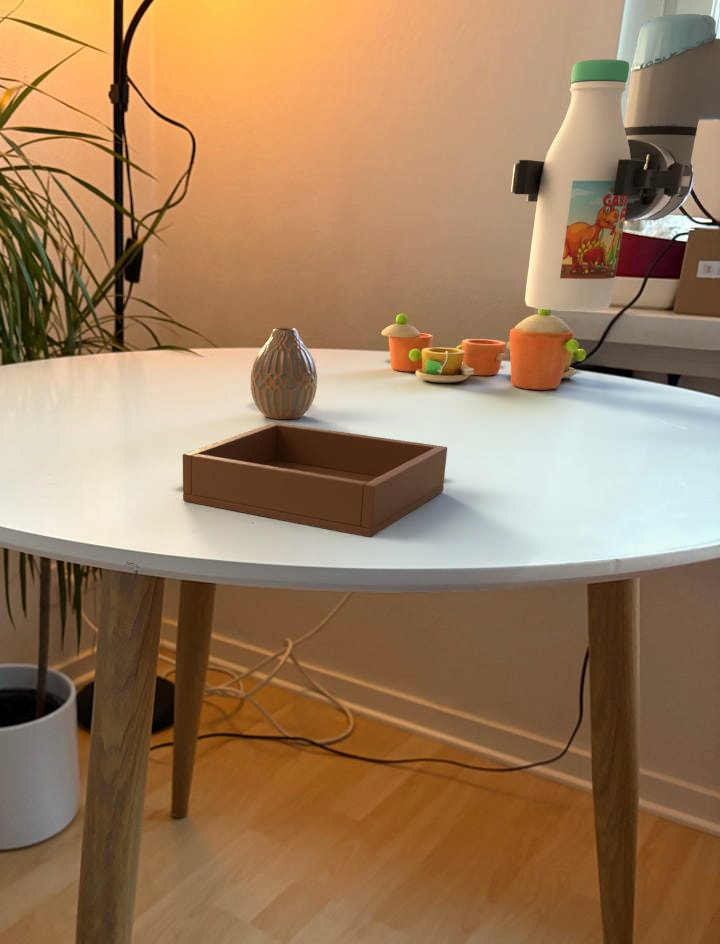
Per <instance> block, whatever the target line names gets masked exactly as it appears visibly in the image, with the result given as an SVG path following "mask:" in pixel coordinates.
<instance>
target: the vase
mask: <svg viewBox="0 0 720 944" xmlns="http://www.w3.org/2000/svg"><path fill="white" fill-rule="evenodd" d="M317 388H318V371H317V367H316V362H315V360H314V358H313V355H312V353H311V352H310V351H309V349H308V347H307V346H306V345H305V343H304V342H303V340H302V338H301V336H300V333H299V331H298V329H297V328H295V327H275V328H274V329H272V332H271V335H270V337H269V338H268V340H267V341H266V343H265V344H264V345H263V347H262V348H260V350H259V352H258V353H257V355H256V357H255V359H254V362H253V364H252V368H251V372H250V391H251V392H250V393H251V397H252V399H253V402H254V405H255V406H256V408H257V409H258V411H259V412H260V413H261V414H262V415H263V416H264V417H266V418H269V419H275V420H295V419H299V418H301V417H303V416H304V415H305V414H306V413H307V411H308V410H310V408H311V407H312V404H313V402H314V400H315V397H316V394H317Z"/></svg>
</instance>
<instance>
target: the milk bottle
mask: <svg viewBox="0 0 720 944" xmlns="http://www.w3.org/2000/svg"><path fill="white" fill-rule="evenodd" d="M629 72H630V63H629V62H628V61H627V60H623V59H588V60H581V61H577V62H575V63H574V64H573V66H572V71H571V77H570V83H571V85H570V89H569V91H570V92H571V99H570V104H569V107H568V109H567V113H566V115H565V117H564V120H563V122H562V124H561V126H560V128H559V130H558V132H557V134H556V136H555V138H554V139H553V142H552V144H550V146H549V149H548V151H547V154H546V156H545V160H544V162H545V163H544V166H543V170H542V175H541V181H540V187H539V193H538V200H537V202H536V209H535V216H534V223H533V231H532V240H531V246H530V255H529V263H528V269H527V270H528V271H527V277H526V285H525V286H526V287H525V297H524V301H525V304H526V307H530V308H533V309H538V310H539V309H546V310H551V311H560V312H597V311H598V312H599V311H603V310H608V308H609V307H610V306H611V303H612V298H613V293H614V287H615V280H616V274H617V269H618V264H619V263H618V262H619V256H620V250H621V244H622V237H623V231H624V226H625V221H624V218H625V212H626V205H627V198H628V196H618V195H613V193H614V187H615V180H616V174H617V167H618V161H619V160H626V159H628V160H631V156H630V149H629V144H628V140H627V137H626V133H625V129H624V120H623V119H624V118H623V111H622V110H623V109H622V98H623V93H624V92H625V91H626V90H627V88H626V86H627V82H628V78H629Z"/></svg>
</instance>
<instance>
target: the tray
mask: <svg viewBox="0 0 720 944" xmlns="http://www.w3.org/2000/svg"><path fill="white" fill-rule="evenodd" d="M447 455H448V447H447V446H443V445H436V444H428V443H422V442H415V441H408V440H401V439H394V438H386V437H380V436H373V435H364V434H359V433H351V432H346V431H345V432H344V431H338V430H331V429H322V428H315V427H309V426H301V425H295V424H287V423H280V422H271V423H268V424H265V425H262V426H260V427H257V428H253V429H251V430H248V431H245V432H243V433H240V434H237V435H234V436H231V437H227V438H225V439H222V440H220V441H216V442H214V443H211V444H208V445H205V446H203V447H200V448H196V449H194V450H191V451H188V452H185V453H182V501H183V502H187V503H193V504H198V505H201V506H208V507H213V508H218V509H222V510H223V509H224V510H229V511H233V512H239V513H245V514H249V515H254V516H258V517H260V516H261V517H264V518H269V519H274V520H280V521H284V522H285V521H286V522H291V523H296V524H301V525H306V526H310V527H317V528H320V529H326V530H331V531H337V532H341V533H347V534H353V535H357V536H361V537H367V538H372V537H373V536H375V535H377V534H378V533H380V532H381V531H383V530H384V529H386V528H388V527H389V526H391V525H393V524H394V523H396V522H397V521H399V520H401V519H402V518H404V517H405V516H407V515H409V514H410V513H412V512H413V511H415V510H417V509H418V508H419V507H421V506H422V505H424V504H426V503H428V502H429V501H431V500H432V499H434V498H436V497H437V496H439V495H440V494H442V493H443V492H444V484H445V475H446V465H447Z"/></svg>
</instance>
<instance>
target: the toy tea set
mask: <svg viewBox="0 0 720 944" xmlns="http://www.w3.org/2000/svg"><path fill="white" fill-rule="evenodd" d="M408 318H409V317H408V316H407V314H405V313H399V314H398V315H396V318H395V322H396V323H394V324H391V325H388V326H386V327H385V328H384V329H383V330H382V331H381V336H383V337H388V344H389V358H390V368H391V369H392V370H395V371H398V372H407V373H408V372H409V373H414V372H415V376H416V377H417V378H419V379H421V380H423V381H426V382H431V383H440V384H453V383H459V382H462V381H465V380H467V379H469V378H470V376H481V377H483V376H484V377H485V376H487V377H488V376H495V375H497V374H498V373H499V372H500V368H501V364H502V361H505V360H507V357H508V355H507V353H505V349H506V350H508V351H509V353H510V382H511V385H512V386H514V387H516V388H519V389H524V390H535V391H548V390H554V389H557V388H558V387H560V386H561V385H560V384H561V382H562V379H567V378H570V377H574V376H575V375H576V374H577V370H576V369H575V368H574V367H571V364H572V361H573V360H575V361H576V362H582V361H584V360H585V359H586V357H587V352H586V350H585V349H583V348H579V346H580V343H579V342H578V340H576V339H574V337H575V332H574V330H572V329H570V328H569V326H568V324H567V323H566V322H565V321H563V319H561V318H559V317H558V316H556V315H553V314H552V310H546V309H539V308H538V310H537V314H533V315H530V316H528V317H526V318H524V319H523V320H521V321H520V322H519V323H517V325H516V326H515V327H512V328H511V329H510V331H509V340H508V341H507V343H506V342H505V341H503V340H502V341H501V340H496V339H487V338H468V339H463V340H462V341H461V344H459V345H457V346H456V347H455V348H454V347H443V346H442V347H440V346H438V347H435V346H434V347H433V346H432V342H433V338H434V336H433V334H430V333H424V332H420V331H419V330H418V329H417V328H416V327H414V326H413V325H410V324H408V320H409V319H408Z"/></svg>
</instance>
